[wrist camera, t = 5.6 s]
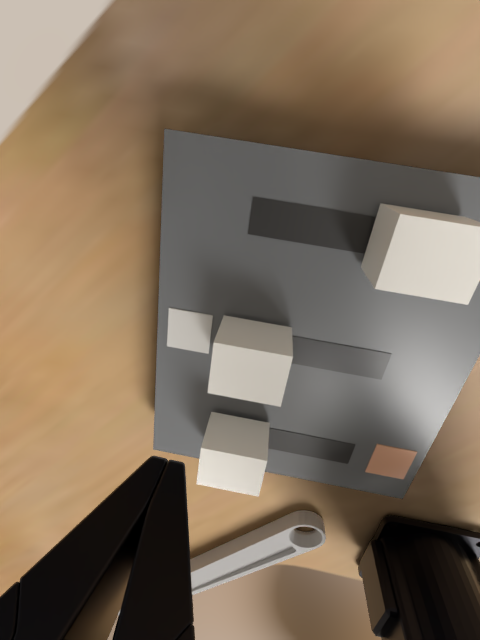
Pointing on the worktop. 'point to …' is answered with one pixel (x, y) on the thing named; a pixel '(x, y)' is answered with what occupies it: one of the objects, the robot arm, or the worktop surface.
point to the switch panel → (306, 307)
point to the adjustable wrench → (257, 550)
